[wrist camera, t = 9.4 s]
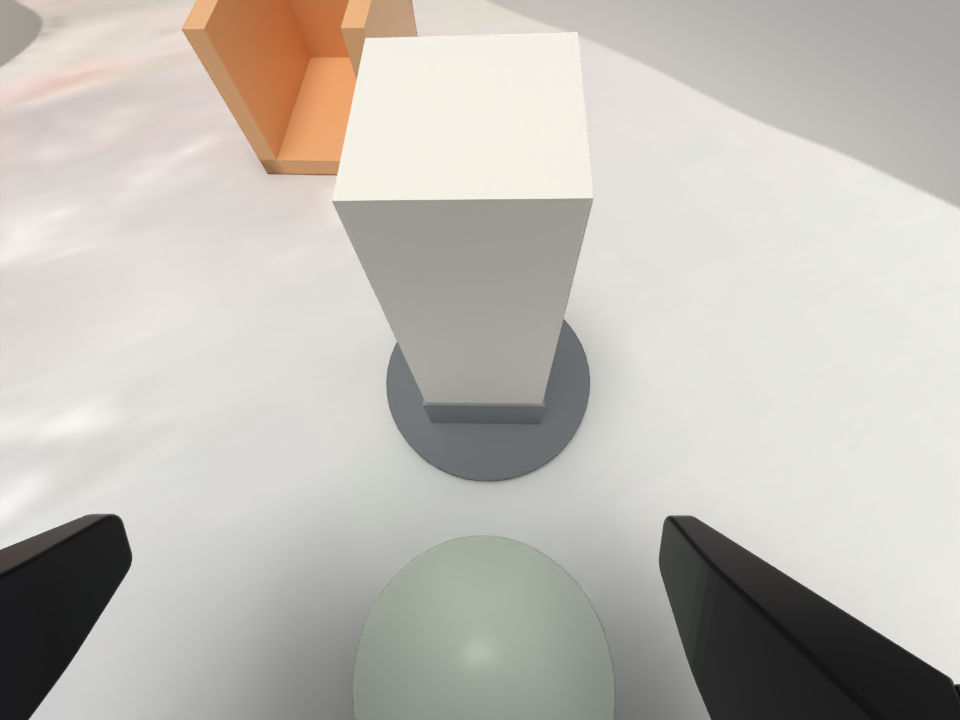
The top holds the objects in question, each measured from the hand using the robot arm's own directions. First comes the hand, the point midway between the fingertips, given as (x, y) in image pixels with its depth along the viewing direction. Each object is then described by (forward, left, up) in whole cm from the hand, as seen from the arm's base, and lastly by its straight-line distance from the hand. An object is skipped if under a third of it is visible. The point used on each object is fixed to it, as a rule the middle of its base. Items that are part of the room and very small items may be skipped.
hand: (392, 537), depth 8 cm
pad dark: (+6, -4, -12) cm, 14 cm away
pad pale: (-4, +1, -12) cm, 12 cm away
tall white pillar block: (+6, -4, -11) cm, 13 cm away
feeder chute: (+26, -4, -12) cm, 29 cm away
